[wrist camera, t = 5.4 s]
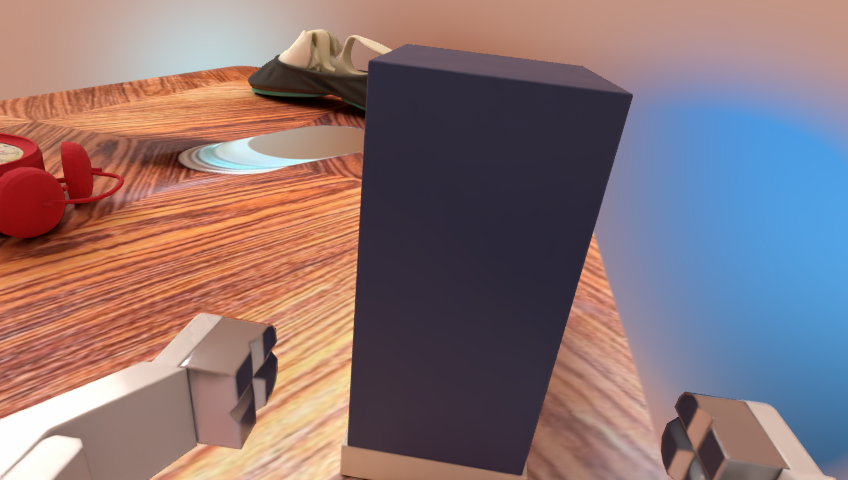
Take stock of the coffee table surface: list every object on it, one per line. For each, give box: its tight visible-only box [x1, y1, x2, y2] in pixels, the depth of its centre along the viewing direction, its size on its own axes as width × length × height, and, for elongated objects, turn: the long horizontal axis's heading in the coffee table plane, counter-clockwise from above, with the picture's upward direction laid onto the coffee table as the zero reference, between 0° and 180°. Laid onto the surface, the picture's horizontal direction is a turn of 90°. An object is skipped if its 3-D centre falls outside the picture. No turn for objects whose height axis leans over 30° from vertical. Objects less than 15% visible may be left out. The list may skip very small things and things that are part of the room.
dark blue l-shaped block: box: [340, 44, 633, 480], centre depth 21 cm, size 16×6×14 cm, turn 173°
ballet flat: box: [248, 30, 392, 111], centre depth 71 cm, size 10×30×10 cm, turn 69°
